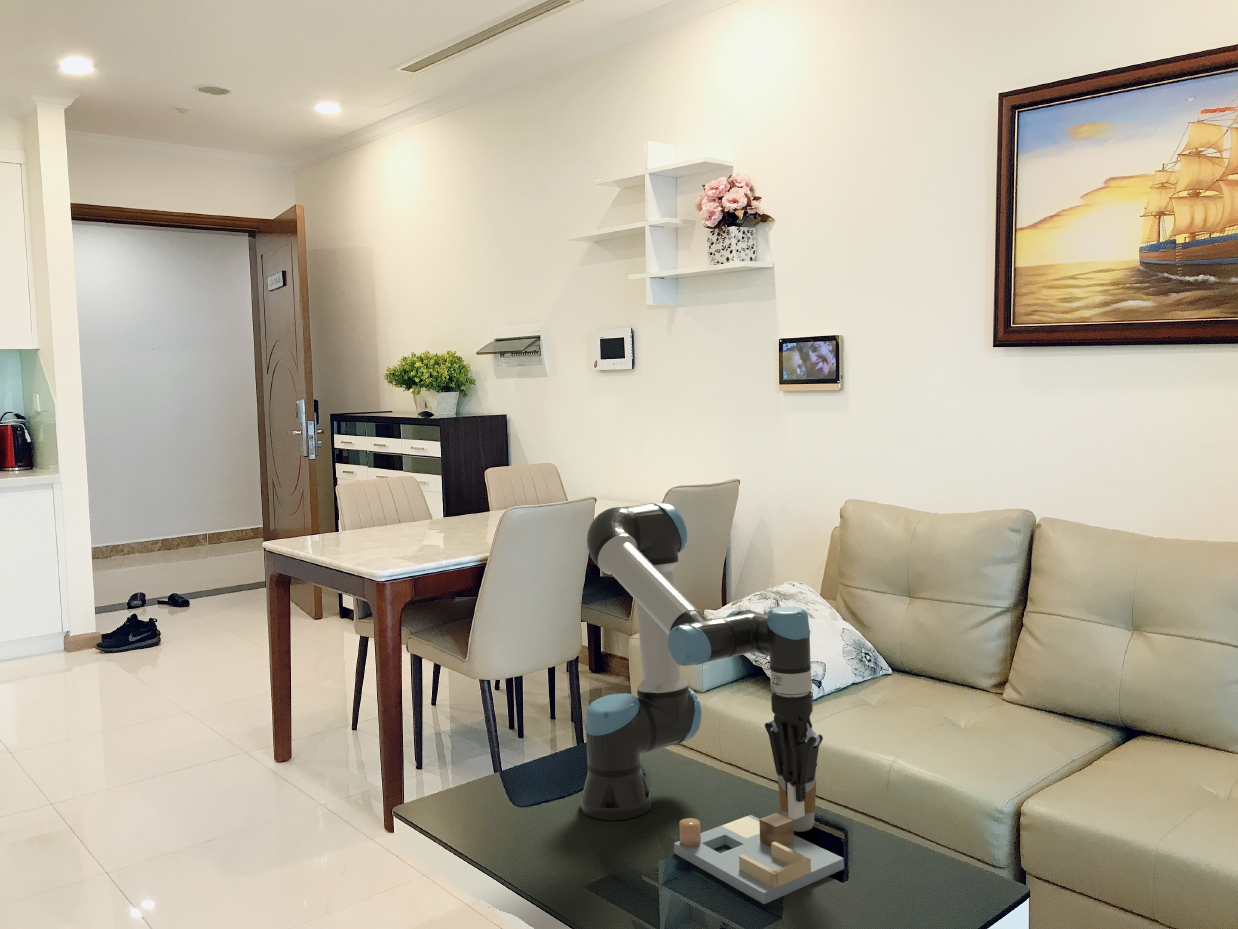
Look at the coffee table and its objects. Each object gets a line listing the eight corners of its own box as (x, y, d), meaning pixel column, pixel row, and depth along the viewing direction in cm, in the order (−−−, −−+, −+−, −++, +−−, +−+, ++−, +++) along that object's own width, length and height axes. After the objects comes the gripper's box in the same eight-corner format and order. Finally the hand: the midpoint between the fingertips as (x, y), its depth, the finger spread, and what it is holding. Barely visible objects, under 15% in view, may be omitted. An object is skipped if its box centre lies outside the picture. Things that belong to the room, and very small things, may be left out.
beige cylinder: (675, 842, 186) (675, 822, 186) (691, 836, 189) (691, 816, 189) (688, 849, 183) (688, 829, 183) (705, 843, 185) (704, 823, 185)
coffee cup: (819, 835, 191) (817, 761, 191) (776, 833, 193) (774, 759, 192) (819, 817, 200) (816, 746, 199) (778, 815, 201) (776, 745, 200)
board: (674, 853, 186) (673, 830, 186) (751, 824, 198) (750, 802, 197) (764, 904, 166) (763, 878, 166) (844, 869, 177) (843, 845, 177)
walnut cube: (760, 842, 185) (759, 819, 185) (777, 835, 188) (776, 812, 187) (776, 850, 181) (775, 827, 181) (793, 843, 184) (793, 820, 184)
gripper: (752, 688, 182) (757, 811, 183) (802, 703, 171) (807, 833, 172) (781, 681, 186) (786, 801, 187) (831, 694, 176) (836, 821, 177)
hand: (796, 816), depth 180 cm, fingers closed
